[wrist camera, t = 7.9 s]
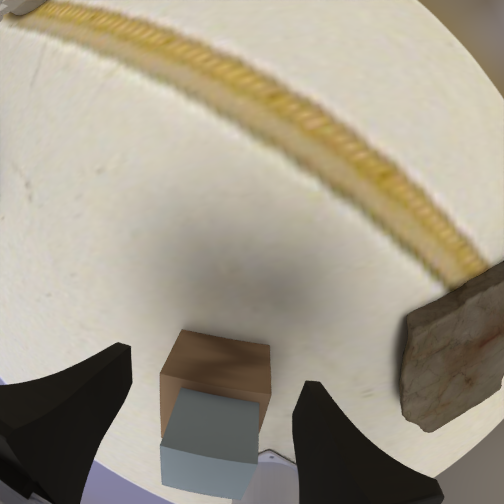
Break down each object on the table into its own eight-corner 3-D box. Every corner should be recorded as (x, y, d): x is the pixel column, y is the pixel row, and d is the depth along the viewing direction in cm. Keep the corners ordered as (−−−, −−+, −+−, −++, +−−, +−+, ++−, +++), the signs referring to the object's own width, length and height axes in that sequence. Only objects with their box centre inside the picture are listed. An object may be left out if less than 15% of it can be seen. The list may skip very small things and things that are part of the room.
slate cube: (259, 402, 16) (257, 464, 12) (245, 446, 18) (241, 500, 13) (180, 387, 16) (160, 445, 11) (177, 432, 18) (162, 484, 13)
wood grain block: (269, 344, 22) (271, 394, 16) (253, 405, 24) (251, 455, 18) (182, 328, 22) (159, 373, 16) (178, 391, 24) (161, 437, 18)
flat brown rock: (513, 250, 20) (540, 261, 16) (502, 360, 23) (520, 377, 19) (381, 314, 21) (401, 340, 17) (391, 421, 25) (403, 448, 21)
